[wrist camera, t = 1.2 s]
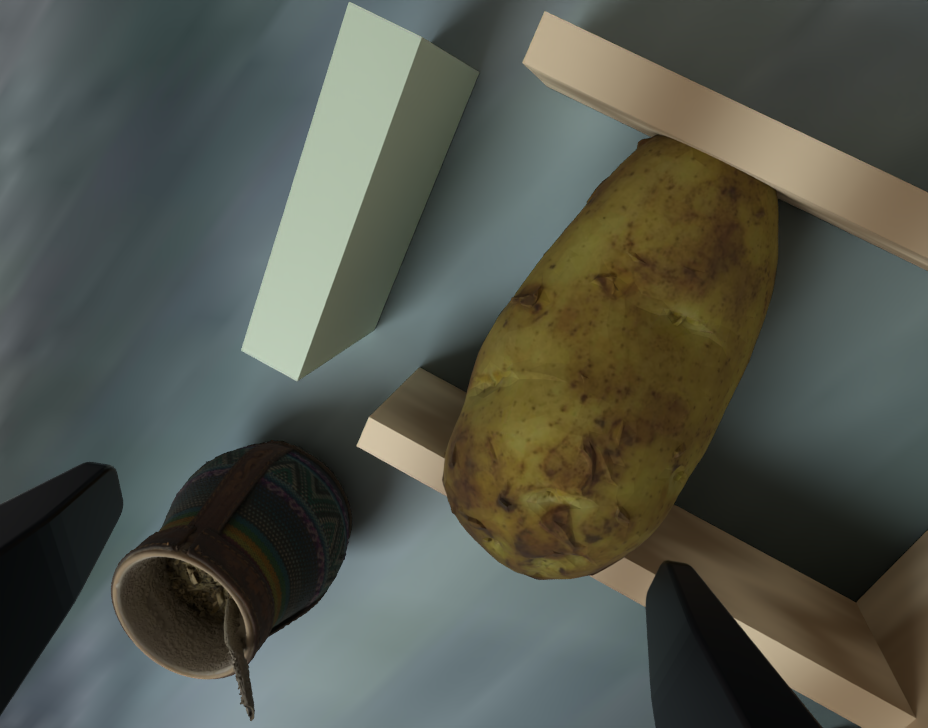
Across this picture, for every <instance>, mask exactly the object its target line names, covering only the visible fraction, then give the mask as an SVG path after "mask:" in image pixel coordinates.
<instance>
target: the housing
mask: <svg viewBox="0 0 928 728" xmlns="http://www.w3.org/2000/svg"><path fill="white" fill-rule="evenodd" d="M522 63H523V64H524V65H525V66H526V67H527V68H528V69H529V70H530V71H532V72H533V73H534V74H535V75H536V76H537V77H538V78H539V79H540V80H541V81H542V82H543V83H544V84H545V85H546V86H547V87H549V88H551V89H553V90H555V91H557V92H559V93H562V94H564V95H566V96H568V97H570V98H572V99H574V100H576V101H578V102H580V103H582V104H584V105H586V106H588V107H590V108H592V109H595V110H597V111H599V112H601V113H603V114H605V115H607V116H609V117H611V118H613V119H615V120H617V121H619V122H621V123H623V124H626V125H628V126H630V127H632V128H634V129H636V130H638V131H640V132H642V133H644V134H646V135H648V136H650V137H653V136H655V135H657V134H659V135H664V136H667V137H670V138H672V139H675V140H677V141H680V142H682V143H684V144H687V145H689V146H691V147H693V148H696V149H698V150H700V151H702V152H704V153H706V154H708V155H710V156H712V157H715V158H717V159H719V160H721V161H723V162H725V163H727V164H729V165H731V166H733V167H735V168H737V169H739V170H741V171H743V172H745V173H747V174H748V175H750V176H752V177H754V178H756V179H758V180H760V181H762V182H764V183H765V184H767V185H769V186H770V187H772V188H774V189H775V190H776V191H777V198H778V199H780V200H782V201H784V202H786V203H789V204H791V205H793V206H795V207H797V208H799V209H801V210H803V211H805V212H807V213H809V214H811V215H813V216H815V217H817V218H820V219H822V220H824V221H826V222H828V223H830V224H832V225H834V226H836V227H838V228H840V229H842V230H844V231H846V232H848V233H850V234H853V235H855V236H857V237H859V238H861V239H863V240H865V241H867V242H869V243H871V244H873V245H875V246H877V247H879V248H881V249H883V250H886V251H888V252H890V253H892V254H894V255H896V256H898V257H900V258H902V259H904V260H906V261H908V262H910V263H912V264H914V265H917V266H919V267H921V268H923V269H925V270H927V271H928V192H926V191H924V190H922V189H920V188H918V187H916V186H913V185H911V184H909V183H907V182H905V181H903V180H901V179H899V178H897V177H894V176H892V175H890V174H888V173H886V172H884V171H882V170H880V169H878V168H875V167H873V166H871V165H869V164H867V163H865V162H863V161H861V160H858V159H856V158H854V157H852V156H850V155H848V154H846V153H844V152H842V151H839V150H837V149H835V148H833V147H831V146H829V145H827V144H825V143H823V142H820V141H818V140H816V139H814V138H812V137H810V136H808V135H806V134H804V133H801V132H799V131H797V130H795V129H793V128H791V127H789V126H787V125H784V124H782V123H780V122H778V121H776V120H774V119H772V118H770V117H768V116H765V115H763V114H761V113H759V112H757V111H755V110H753V109H751V108H749V107H746V106H744V105H742V104H740V103H738V102H736V101H734V100H732V99H730V98H727V97H725V96H723V95H721V94H719V93H717V92H715V91H713V90H711V89H708V88H706V87H704V86H702V85H700V84H698V83H696V82H694V81H691V80H689V79H687V78H685V77H683V76H681V75H679V74H677V73H675V72H672V71H670V70H668V69H666V68H664V67H662V66H660V65H658V64H656V63H653V62H651V61H649V60H647V59H645V58H643V57H641V56H639V55H637V54H634V53H632V52H630V51H628V50H626V49H624V48H622V47H620V46H617V45H615V44H613V43H611V42H609V41H607V40H605V39H603V38H601V37H598V36H596V35H594V34H592V33H590V32H588V31H586V30H584V29H582V28H579V27H577V26H575V25H573V24H571V23H569V22H567V21H565V20H563V19H560V18H558V17H556V16H554V15H552V14H550V13H548V12H546V11H545V12H544V14H543V16H542V19H541V21H540V23H539V25H538V28H537V30H536V32H535V35H534V37H533V39H532V42H531V44H530V46H529V49H528V51H527V53H526V55H525V58H524V60H523V62H522ZM466 394H467V393H466V392H464V391H462V390H461V389H459V388H457V387H455V386H453V385H451V384H449V383H448V382H446V381H444V380H442V379H440V378H438V377H436V376H435V375H433V374H431V373H429V372H427V371H425V370H423V369H422V368H420V367H419V368H418V369H417V370H416V371H415V372H414V373H413V374H412V375H411V376H410V377H409V378H408V379H407V380H406V381H405V382H404V383H403V384H402V385H401V386H400V387H399V388H398V389H397V390H396V391H395V392H394V393H393V394H392V395H391V396H390V397H389V398H388V399H387V400H386V401H385V402H384V403H383V404H382V405H381V406H380V407H379V408H378V409H377V410H376V411H375V412H374V413H373V414H371V415H370V416H369V418H368V420H367V423H366V425H365V427H364V430H363V432H362V434H361V437H360V439H359V441H358V444H357V447H359V448H361V449H363V450H364V451H366V452H368V453H370V454H372V455H373V456H375V457H377V458H379V459H381V460H382V461H384V462H386V463H388V464H390V465H391V466H393V467H395V468H397V469H399V470H400V471H402V472H404V473H406V474H408V475H409V476H411V477H413V478H415V479H417V480H418V481H420V482H422V483H424V484H426V485H427V486H429V487H431V488H433V489H435V490H436V491H438V492H440V493H442V494H444V495H445V496H447V494H446V492H445V488H444V486H443V482H442V477H443V470H444V460H445V457H444V453H445V451H446V450H447V447H448V443H449V440H450V437H451V435H452V432H453V430H454V427H455V425H456V422H457V420H458V418H459V416H460V413H461V411H462V408H463V405H464V403H465V399H466ZM665 560H670V561H676V562H682V563H687V564H689V565H690V566H692V567H693V568H694V570H695V571H696V572H697V573H698V574H699V576H700V577H701V578H702V579H703V581H704V582H705V583H706V584H707V586H708V587H709V588H710V589H711V591H712V592H713V593H714V594H715V595H716V597H717V598H718V599H719V600H720V602H721V603H722V604H723V605H724V607H725V608H726V609H727V610H728V612H729V613H730V614H731V615H732V616H733V618H734V619H735V620H736V621H737V623H738V624H739V625H740V626H741V628H742V629H743V630H744V631H745V633H746V634H747V635H748V636H749V637H750V639H751V640H752V641H753V642H754V644H755V645H756V646H757V647H758V649H759V650H760V651H761V652H762V654H763V655H764V656H765V657H766V658H767V660H768V661H769V662H770V663H771V665H772V666H773V667H774V668H775V670H776V671H777V672H778V673H779V674H780V676H781V677H782V678H783V679H784V681H785V682H786V683H787V684H788V686H789V687H790V688H792V689H794V690H796V691H797V692H799V693H801V694H803V695H805V696H806V697H808V698H810V699H812V700H814V701H815V702H817V703H819V704H821V705H823V706H824V707H826V708H828V709H830V710H832V711H833V712H835V713H837V714H839V715H841V716H842V717H844V718H846V719H848V720H850V721H851V722H853V723H855V724H857V725H858V726H860V727H862V728H928V530H927V531H926V532H925V533H924V534H923V535H922V536H921V537H920V538H919V539H918V540H917V541H916V542H915V543H914V544H913V545H912V546H911V547H910V548H909V549H908V550H907V551H906V552H905V553H904V554H903V555H902V556H901V557H900V558H899V559H898V560H897V561H896V562H895V564H894V565H893V566H892V567H891V568H890V569H889V570H888V571H887V572H886V573H885V574H884V575H883V576H882V577H881V578H880V579H879V580H878V581H877V582H876V583H875V584H874V585H873V586H872V587H871V588H870V589H869V590H868V591H867V592H866V593H865V594H864V595H863V596H862V597H861V598H860V599H859V600H858V601H857V602H854V601H852V600H850V599H849V598H847V597H845V596H843V595H841V594H839V593H837V592H836V591H834V590H832V589H830V588H828V587H826V586H824V585H823V584H821V583H819V582H817V581H815V580H813V579H811V578H810V577H808V576H806V575H804V574H802V573H800V572H798V571H797V570H795V569H793V568H791V567H789V566H787V565H785V564H784V563H782V562H780V561H778V560H776V559H774V558H772V557H771V556H769V555H767V554H765V553H763V552H761V551H759V550H758V549H756V548H754V547H752V546H750V545H748V544H746V543H745V542H743V541H741V540H739V539H737V538H735V537H733V536H732V535H730V534H728V533H726V532H724V531H722V530H720V529H719V528H717V527H715V526H713V525H711V524H709V523H707V522H706V521H704V520H702V519H700V518H698V517H696V516H694V515H693V514H691V513H689V512H687V511H685V510H683V509H681V508H680V507H678V506H676V505H673V506H672V508H671V510H670V511H669V513H668V514H667V516H666V518H665V519H664V520H663V522H662V523H661V524H660V525H659V527H658V528H657V529H656V530H655V531H654V532H653V534H652V535H651V536H650V537H649V538H647V539H646V540H645V541H644V542H643V543H642V544H641V545H640V546H638V547H637V548H636V549H634V550H633V551H631V552H630V553H629V554H628V555H627V556H625V557H624V558H623V559H621V560H620V561H618V562H616V563H615V564H613V565H612V566H610V567H608V568H606V569H605V570H603V571H601V572H599V573H597V574H595V575H593V576H591V575H589V576H591V577H593V578H594V579H596V580H598V581H600V582H602V583H603V584H605V585H607V586H609V587H611V588H612V589H614V590H616V591H618V592H620V593H621V594H623V595H625V596H627V597H629V598H630V599H632V600H634V601H636V602H638V603H639V604H641V605H643V606H645V607H646V595H647V591H648V589H649V587H650V585H651V583H652V581H653V579H654V577H655V575H656V573H657V571H658V569H659V566H660V565H661V563H662V562H663V561H665Z"/></svg>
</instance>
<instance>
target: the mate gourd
mask: <svg viewBox="0 0 928 728" xmlns="http://www.w3.org/2000/svg"><path fill="white" fill-rule="evenodd" d="M351 530H352V514H351V509H350V505H349V502H348V499H347V497H346V495H345V492H344V490H343V488H342V486H341V485H340V483H339V481H338V480H337V478H336V477H335V475H334V474H333V472H331V470H330V469H329V468H328V467H327V466H326V465H325V464H323V463H322V462H321V461H320V460H318V459H317V458H315V457H314V456H312V455H310V454H309V453H307V452H305V451H304V450H303V449H301V448H300V447H297V446H295V445H291V443H290V444H289V443H286V442H284V441H273V440H271V441H270V442H267V443H264V442H263V443H260V444H254V445H252V444H251V445H249V446H247V447H243V448H240V449H236V450H233V451H230V452H227V453H224V454H222V455H219V456H218V457H215V459H213V460H211V461H208V462H206V464H204V465H203V466H202V467H201V468H200V469H199V470H197V471H196V472H195V473H194V474H193V475H192V476H191V477H190V478H189V479H188V481H187V482H186V483H185V485H184V486H183V487H182V489H181V490H180V491H179V492H178V493H177V494H176V497H175V499H174V501H173V502H172V505H171V507H170V510H169V512H168V514H167V516H166V519H165V521H164V523H163V526H162V528H161V529H160V531H159V532H155V533H154V534H153V535H151V536H149V537H148V538H147V539H145V540H144V541H143V542H142V543H141V544H140V545H139V546H138V547H136V548H135V549H134V550H131V551H130V553H128V554H126V556H125V557H124V558H123V559H122V560H121V561H120V562H119V564H118V566H117V568H116V570H115V572H114V575H113V579H112V583H111V584H112V585H111V597H112V603H113V607H114V610H115V613H116V615H117V618H118V620H119V622H120V624H121V626H122V627H123V629H124V631H125V632H126V634H127V635H128V637H129V638H130V639H131V640H132V641H133V642H134V643H135V644H136V646H137V647H138V648H139V649H140V650H141V651H142V652H143V653H144V654H146V655H147V656H148V657H149V658H150V659H152V660H153V661H154V662H156V663H157V664H159V665H161V666H162V667H164V668H166V669H168V670H170V671H172V672H175V673H177V674H180V675H183V676H187V677H191V678H197V679H219V678H224V677H228V676H232V675H234V674H236V681H237V682H238V686H239V688H240V693H241V694H239V695H242V697H241V703H240V704H244V706H245V707H246V711H247V714H248V716H249V717H250V721H252V720H253V719H254V712H255V710H254V701H253V697H252V689H251V682H250V678H249V670H248V668H249V666H248V664H249V663H250V661H251V660H252V659H253V658H254V656H255V654H256V652H257V651H258V650H259V649H260V647H261V646H262V645H263V643H264V642H265V641H266V639H267V638H268V637H269V636H271V635H272V634H274V633H276V632H277V631H279V630H280V629H283V628H284V627H285V626H286V625H289V624H290V623H291V622H292V621H295V620H297V619H298V618H299V617H301V616H302V615H304V614H306V613H307V612H308V611H309V610H310V609H311V608H313V607H314V606H315V605H316V604H317V603H318V602H319V601H320V600H321V598H322V597H323V596H324V594H325V593H326V592H327V590H328V588H329V586H330V585H331V584H332V582H333V581H334V579H335V578H336V576H337V573H338V571H339V569H340V567H341V564H342V563H343V560H345V556H346V550H347V545H348V543H349V542H348V539H349V537H350V533H351ZM239 688H238V689H239Z"/></svg>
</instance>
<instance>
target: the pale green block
mask: <svg viewBox="0 0 928 728" xmlns="http://www.w3.org/2000/svg"><path fill="white" fill-rule="evenodd" d="M479 73H480V72H478V71H476V70H475V69H473V68H471V67H470V66H468V65H467V64H465V63H463V62H462V61H460V60H458V59H457V58H455V57H453V56H452V55H450V54H449V53H447V52H445V51H444V50H442V49H440V48H439V47H437V46H435V45H434V44H432V43H431V42H429V41H427V40H426V39H424V38H422V37H420V36H418V35H416V34H414V33H412V32H410V31H408V30H406V29H404V28H402V27H400V26H398V25H396V24H394V23H392V22H390V21H388V20H385V19H383V18H381V17H379V16H377V15H375V14H373V13H371V12H369V11H367V10H365V9H363V8H361V7H359V6H357V5H355V4H353V3H351V2H349V3H348V7H347V10H346V13H345V16H344V19H343V23H342V26H341V29H340V32H339V36H338V39H337V42H336V45H335V49H334V52H333V55H332V58H331V61H330V65H329V68H328V71H327V74H326V78H325V81H324V84H323V87H322V91H321V94H320V97H319V100H318V104H317V107H316V110H315V113H314V116H313V120H312V123H311V126H310V129H309V133H308V136H307V139H306V142H305V146H304V149H303V152H302V155H301V158H300V162H299V165H298V168H297V171H296V175H295V178H294V181H293V184H292V188H291V191H290V194H289V197H288V201H287V204H286V207H285V210H284V213H283V217H282V220H281V223H280V226H279V230H278V233H277V236H276V239H275V243H274V246H273V249H272V252H271V255H270V259H269V262H268V265H267V268H266V272H265V275H264V278H263V281H262V285H261V288H260V291H259V294H258V297H257V301H256V304H255V307H254V310H253V314H252V317H251V320H250V323H249V327H248V330H247V333H246V336H245V340H244V343H243V346H242V349H241V351H243V352H245V353H247V354H249V355H250V356H252V357H254V358H256V359H258V360H259V361H261V362H263V363H265V364H267V365H268V366H270V367H272V368H274V369H276V370H278V371H279V372H281V373H283V374H285V375H287V376H288V377H290V378H292V379H294V380H296V381H298V380H300V379H301V378H303V377H304V376H306V375H307V374H309V373H311V372H312V371H314V370H315V369H317V368H318V367H320V366H321V365H323V364H324V363H326V362H327V361H329V360H330V359H332V358H333V357H335V356H336V355H338V354H339V353H341V352H342V351H344V350H345V349H347V348H348V347H350V346H351V345H353V344H354V343H356V342H357V341H359V340H360V339H362V338H363V337H365V336H366V335H368V334H369V333H371V332H372V331H374V330H375V327H376V325H377V323H378V320H379V318H380V315H381V313H382V310H383V308H384V305H385V303H386V301H387V298H388V296H389V293H390V291H391V288H392V286H393V283H394V281H395V278H396V276H397V274H398V271H399V269H400V266H401V264H402V261H403V259H404V256H405V254H406V251H407V249H408V247H409V244H410V242H411V239H412V237H413V234H414V232H415V229H416V227H417V225H418V222H419V220H420V217H421V215H422V212H423V210H424V207H425V205H426V202H427V200H428V198H429V195H430V193H431V190H432V188H433V185H434V183H435V180H436V178H437V175H438V173H439V171H440V168H441V166H442V163H443V161H444V158H445V156H446V153H447V151H448V149H449V146H450V144H451V141H452V139H453V136H454V134H455V131H456V129H457V126H458V124H459V122H460V119H461V117H462V114H463V112H464V109H465V107H466V104H467V102H468V99H469V97H470V95H471V92H472V90H473V87H474V85H475V82H476V80H477V77H478V75H479Z"/></svg>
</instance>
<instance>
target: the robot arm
mask: <svg viewBox="0 0 928 728" xmlns="http://www.w3.org/2000/svg"><path fill="white" fill-rule="evenodd" d="M122 509H123V498H122V493H121V489H120V484H119V479H118V475H117V471H116V469H115V468H114V467H113V466H111V465H107V464H101V463H95V462H86V463H83V464H81V465H78V466H76V467H74V468H72V469H70V470H68V471H66V472H64V473H62V474H60V475H58V476H56V477H54V478H52V479H50V480H48V481H46V482H44V483H42V484H40V485H38V486H36V487H34V488H32V489H30V490H28V491H26V492H24V493H22V494H20V495H18V496H16V497H14V498H12V499H10V500H8V501H6V502H4V503H2V504H0V716H1V714H2V713H3V711H4V710H5V708H6V706H7V705H8V703H9V702H10V700H11V699H12V697H13V696H14V694H15V693H16V691H17V690H18V688H19V687H20V685H21V684H22V682H23V681H24V679H25V678H26V676H27V675H28V673H29V672H30V670H31V669H32V667H33V666H34V664H35V663H36V661H37V659H38V658H39V656H40V655H41V653H42V652H43V650H44V649H45V647H46V646H47V644H48V643H49V641H50V640H51V638H52V637H53V635H54V634H55V632H56V631H57V629H58V628H59V626H60V625H61V623H62V622H63V620H64V619H65V617H66V615H67V614H68V612H69V611H70V609H71V607H72V606H73V604H74V603H75V601H76V599H77V597H78V596H79V594H80V592H81V590H82V588H83V587H84V585H85V583H86V581H87V579H88V577H89V575H90V573H91V571H92V569H93V567H94V565H95V564H96V562H97V560H98V558H99V556H100V554H101V552H102V550H103V548H104V546H105V544H106V542H107V541H108V539H109V537H110V535H111V533H112V531H113V529H114V527H115V525H116V523H117V521H118V519H119V517H120V515H121V512H122ZM646 623H647V640H648V656H649V673H650V688H651V700H652V707H653V714H654V720H655V726H656V728H822V726H821V725H820V724H819V723H818V721H817V720H816V719H815V718H814V716H813V715H812V714H811V713H810V712H809V710H808V709H807V708H806V707H805V705H804V704H803V703H802V702H801V700H800V699H799V698H798V697H797V695H796V694H795V693H794V692H793V691H792V689H791V688H790V687H789V686H788V684H787V683H786V682H785V681H784V679H783V678H782V677H781V676H780V674H779V673H778V672H777V671H776V670H775V668H774V667H773V666H772V665H771V663H770V662H769V661H768V660H767V658H766V657H765V656H764V655H763V654H762V652H761V651H760V650H759V649H758V647H757V646H756V645H755V644H754V642H753V641H752V640H751V639H750V637H749V636H748V635H747V634H746V633H745V631H744V630H743V629H742V628H741V626H740V625H739V624H738V623H737V621H736V620H735V619H734V618H733V616H732V615H731V614H730V613H729V612H728V610H727V609H726V608H725V607H724V605H723V604H722V603H721V602H720V600H719V599H718V598H717V597H716V595H715V594H714V593H713V592H712V591H711V589H710V588H709V587H708V586H707V584H706V583H705V582H704V581H703V579H702V578H701V577H700V576H699V574H698V573H697V572H696V571H695V570H694V568H693V567H692V566H690V565H689V564H687V563H682V562H676V561H670V560H665V561H663V562H662V563H661V565H660V566H659V569H658V571H657V573H656V575H655V577H654V579H653V581H652V583H651V585H650V587H649V589H648V591H647V595H646Z"/></svg>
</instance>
